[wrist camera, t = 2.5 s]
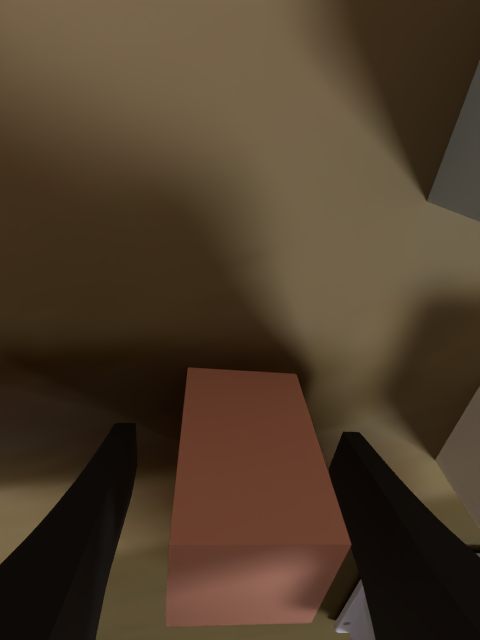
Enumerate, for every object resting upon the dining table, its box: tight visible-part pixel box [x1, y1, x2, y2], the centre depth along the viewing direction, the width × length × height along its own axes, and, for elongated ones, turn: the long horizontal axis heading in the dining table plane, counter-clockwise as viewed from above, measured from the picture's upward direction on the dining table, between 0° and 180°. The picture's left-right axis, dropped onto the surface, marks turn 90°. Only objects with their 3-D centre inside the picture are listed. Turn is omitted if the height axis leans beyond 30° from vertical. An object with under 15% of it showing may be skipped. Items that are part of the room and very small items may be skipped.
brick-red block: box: [165, 367, 351, 627], centre depth 11 cm, size 4×4×6 cm
